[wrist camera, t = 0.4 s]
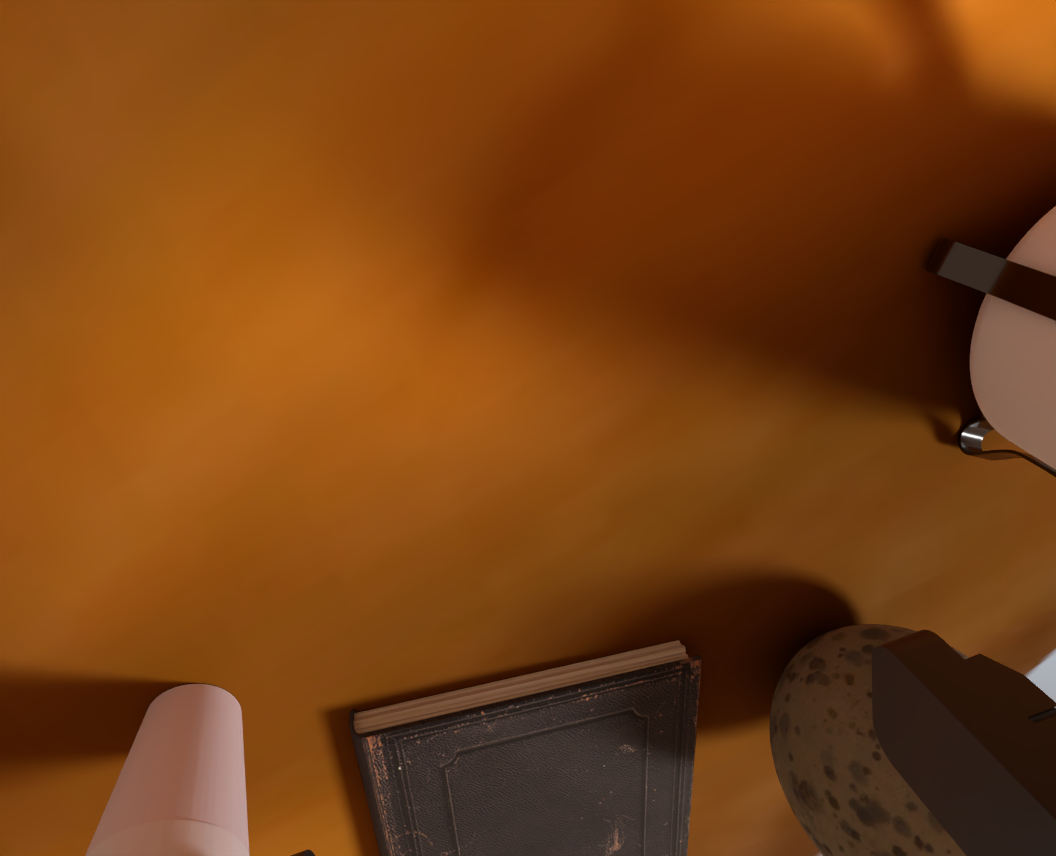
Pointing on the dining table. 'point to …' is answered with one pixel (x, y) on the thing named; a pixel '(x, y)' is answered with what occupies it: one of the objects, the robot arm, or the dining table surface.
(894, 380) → the dining table surface
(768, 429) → the dining table surface
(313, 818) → the dining table surface
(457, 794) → the hardcover book
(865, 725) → the decorative egg
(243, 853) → the smoothie
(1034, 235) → the coffee press
